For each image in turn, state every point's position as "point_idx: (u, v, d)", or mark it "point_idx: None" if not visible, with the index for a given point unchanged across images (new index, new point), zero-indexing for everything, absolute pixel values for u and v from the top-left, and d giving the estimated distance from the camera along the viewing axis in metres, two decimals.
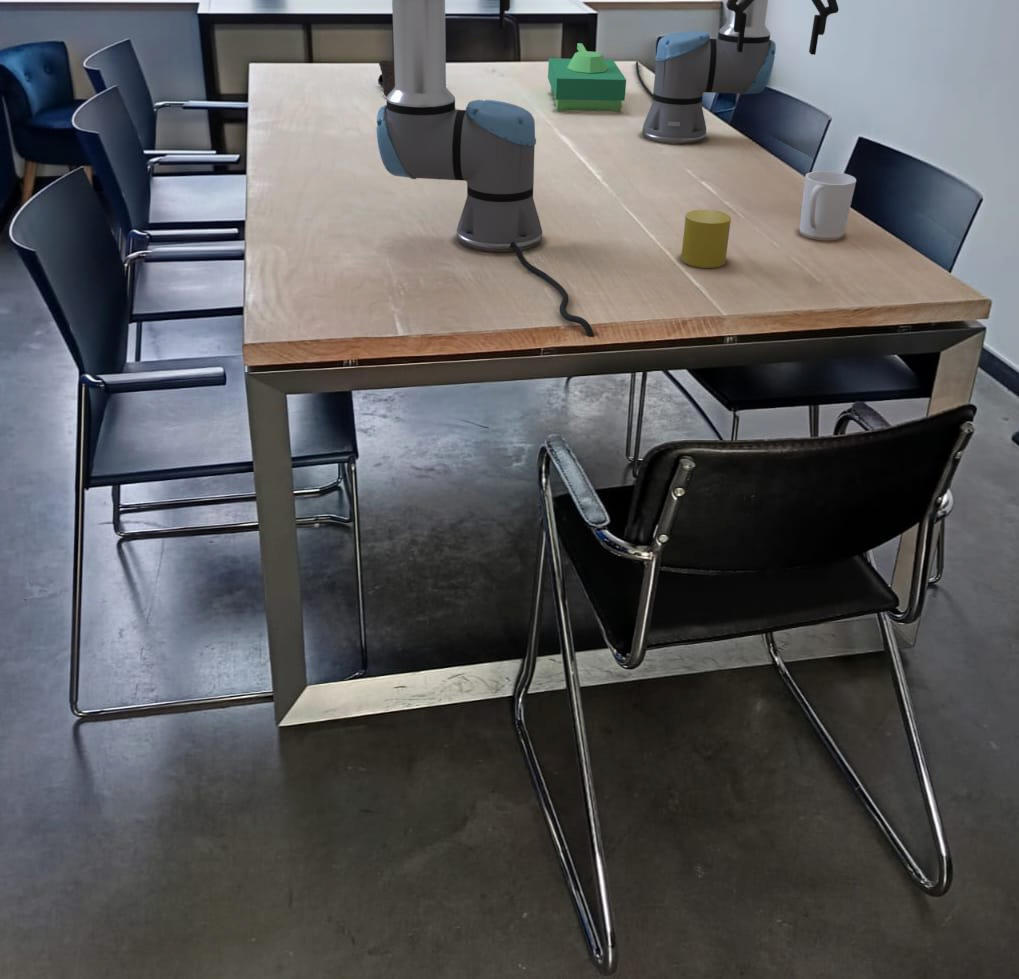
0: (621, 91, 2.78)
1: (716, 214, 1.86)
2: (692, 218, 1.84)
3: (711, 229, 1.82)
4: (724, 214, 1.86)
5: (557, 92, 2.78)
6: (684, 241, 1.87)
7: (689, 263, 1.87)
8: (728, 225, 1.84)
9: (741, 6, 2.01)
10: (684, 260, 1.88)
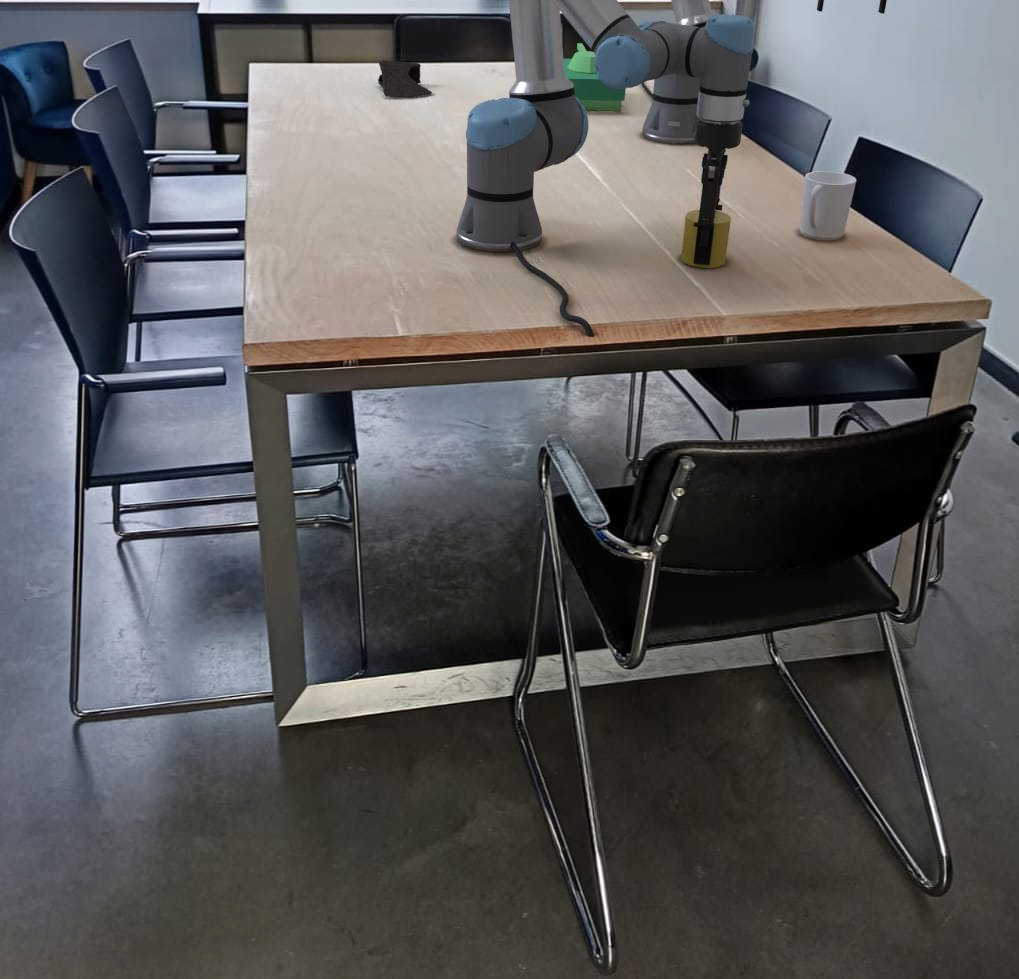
0: (621, 91, 2.78)
1: (716, 214, 1.86)
2: (692, 218, 1.84)
3: None
4: (724, 214, 1.86)
5: None
6: (684, 241, 1.87)
7: (689, 263, 1.87)
8: (728, 225, 1.84)
9: None
10: (684, 260, 1.88)
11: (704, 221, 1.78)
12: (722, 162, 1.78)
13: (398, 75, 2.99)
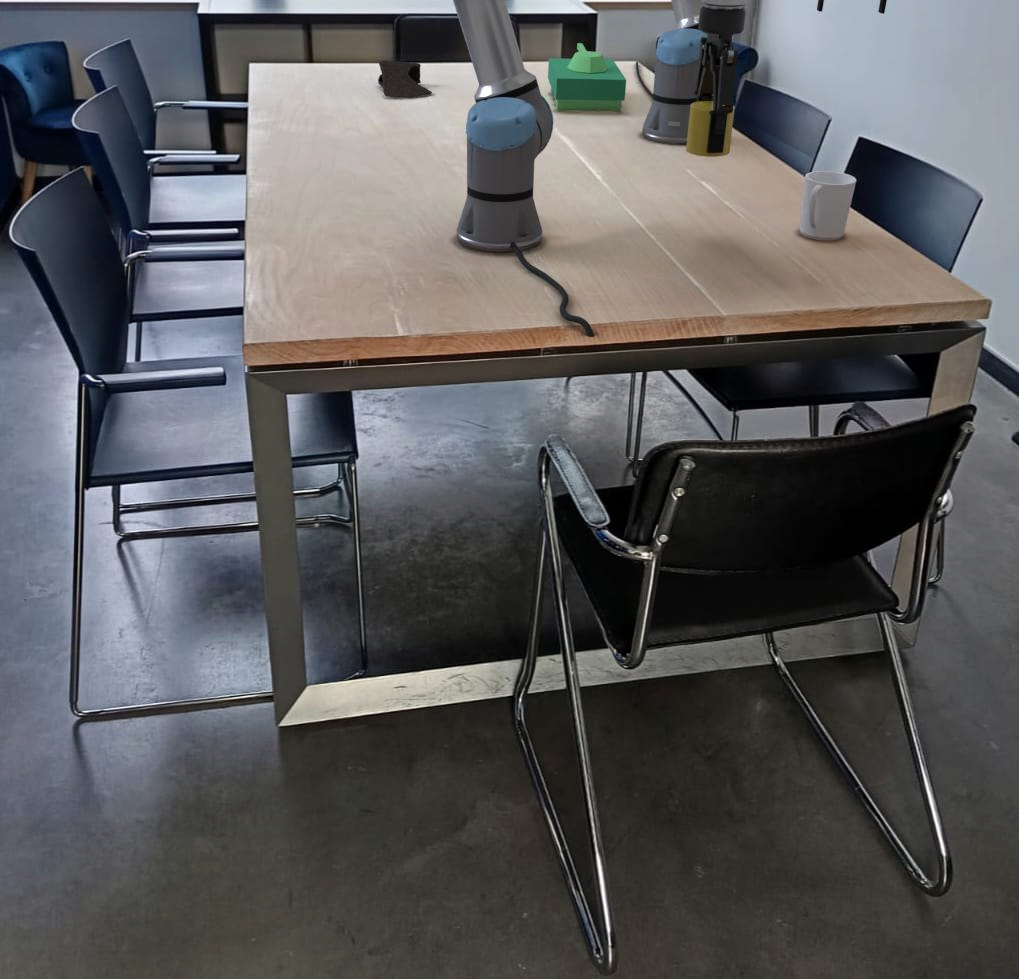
0: (621, 91, 2.78)
1: None
2: (702, 108, 1.87)
3: None
4: None
5: (557, 92, 2.78)
6: (693, 133, 1.90)
7: (701, 154, 1.90)
8: None
9: None
10: (694, 152, 1.91)
11: (724, 107, 1.82)
12: None
13: (398, 75, 2.99)
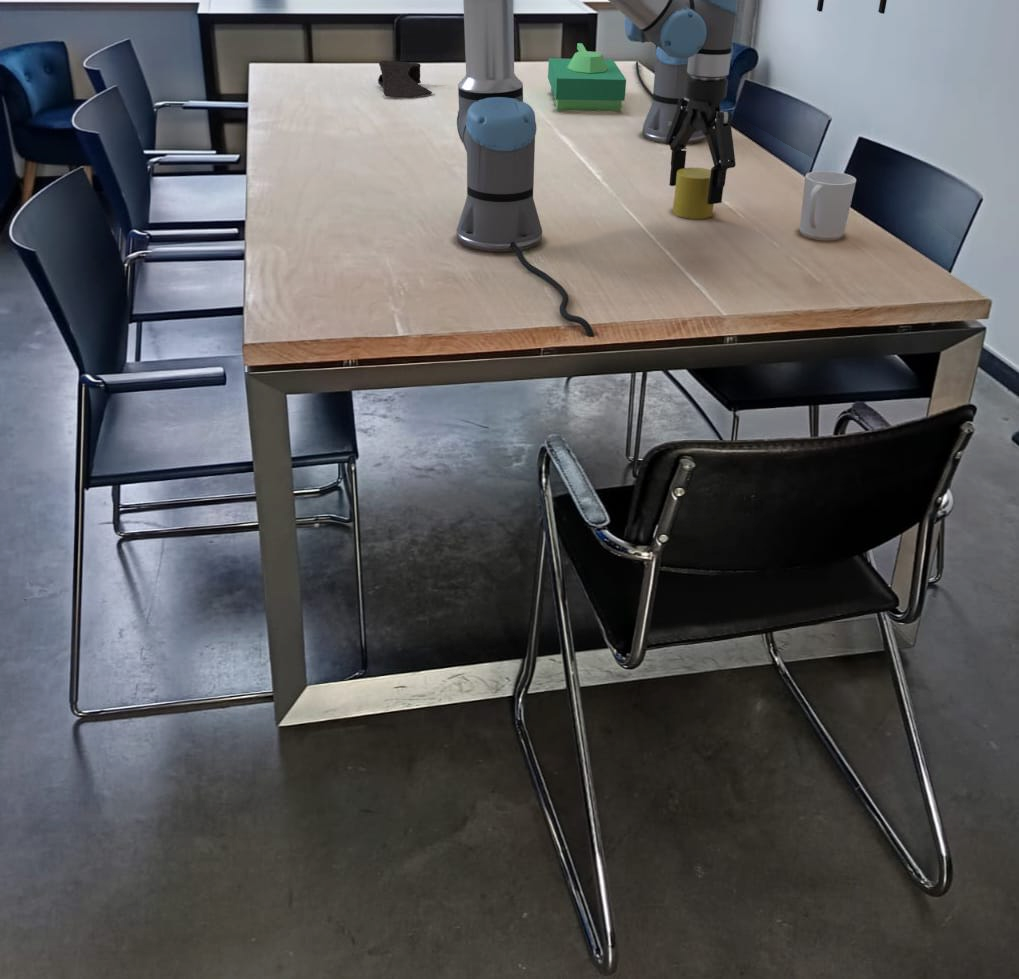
0: (621, 91, 2.78)
1: (697, 170, 2.10)
2: (692, 177, 2.05)
3: None
4: (702, 169, 2.10)
5: (557, 92, 2.78)
6: (684, 199, 2.08)
7: (693, 217, 2.09)
8: None
9: None
10: (686, 215, 2.09)
11: (728, 163, 1.98)
12: None
13: (398, 75, 2.99)
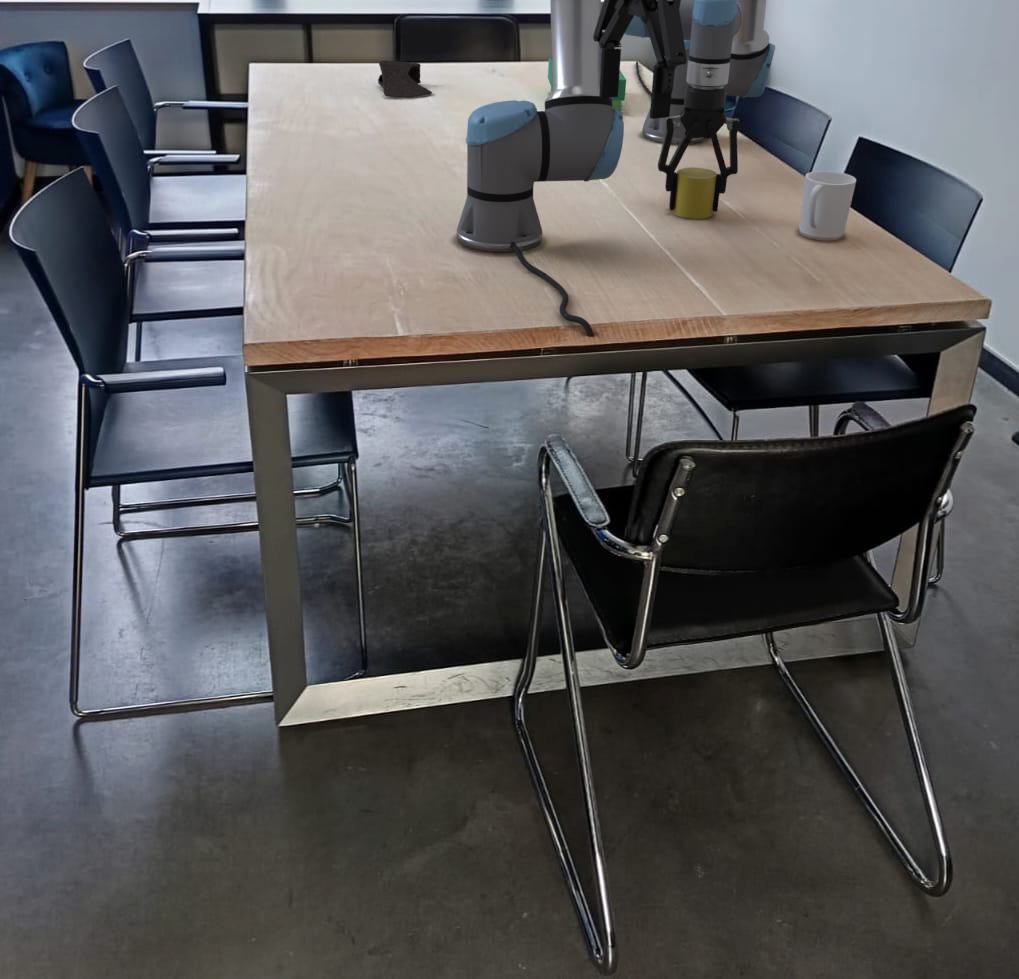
0: (621, 91, 2.78)
1: (697, 170, 2.10)
2: (692, 177, 2.05)
3: (711, 182, 2.06)
4: (702, 168, 2.10)
5: None
6: (684, 199, 2.08)
7: (693, 217, 2.09)
8: None
9: (670, 168, 2.07)
10: (686, 215, 2.09)
11: (677, 57, 1.42)
12: None
13: (398, 75, 2.99)
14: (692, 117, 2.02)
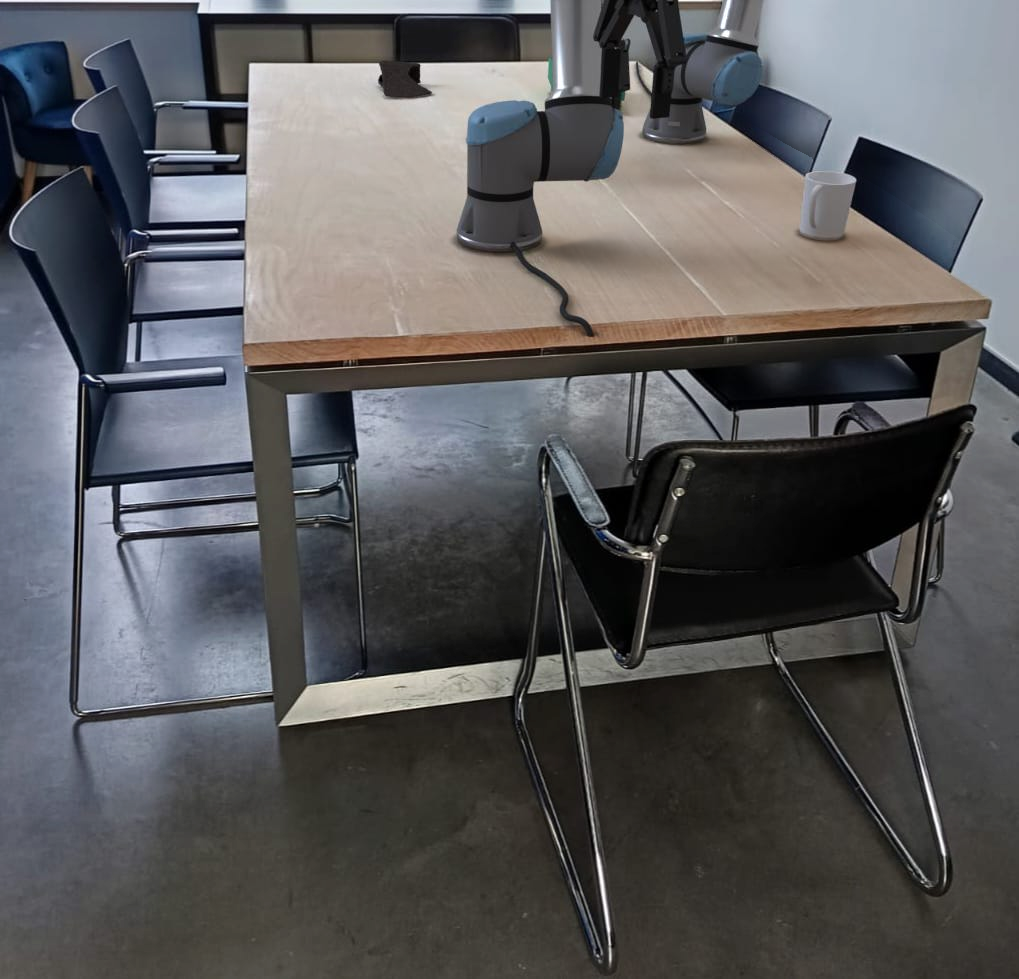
0: None
1: None
2: None
3: None
4: None
5: None
6: None
7: None
8: None
9: None
10: None
11: (677, 57, 1.42)
12: None
13: (398, 75, 2.99)
14: None
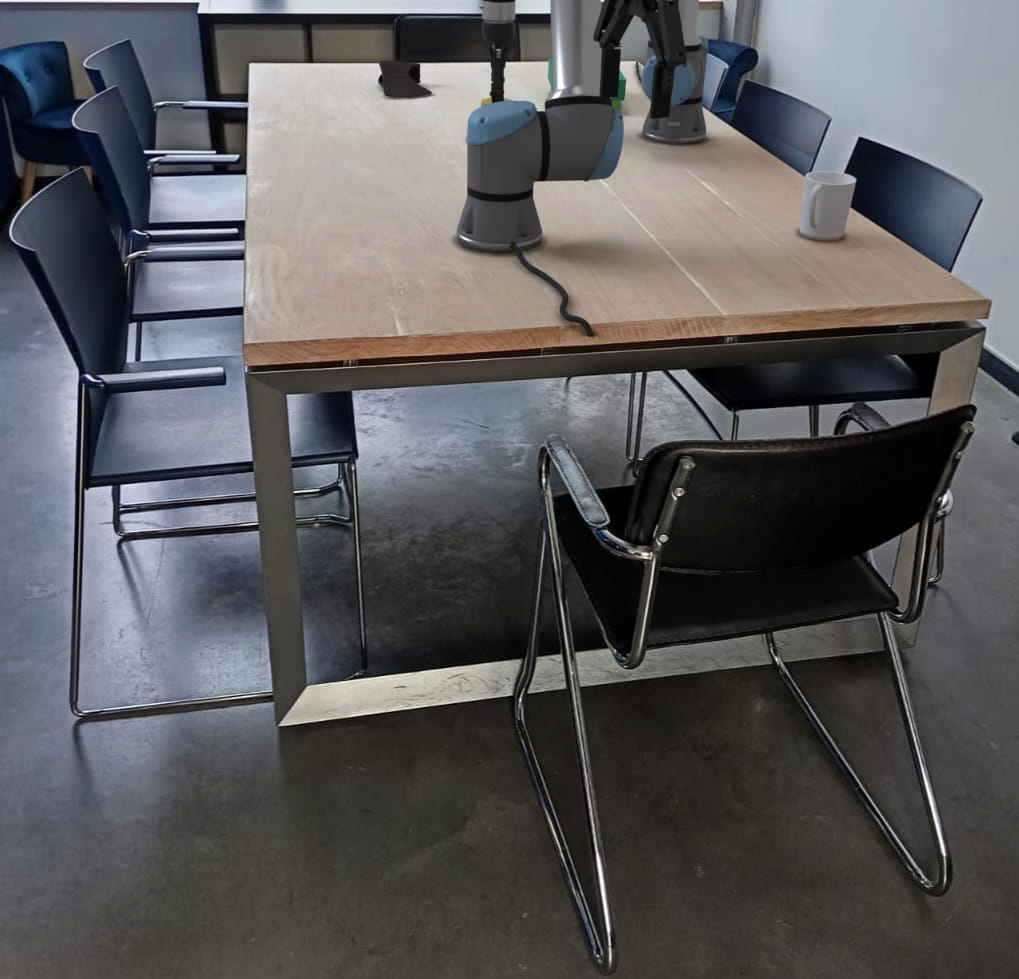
0: (621, 91, 2.78)
1: None
2: (484, 99, 2.58)
3: None
4: None
5: None
6: None
7: None
8: None
9: None
10: None
11: (677, 57, 1.42)
12: None
13: (398, 75, 2.99)
14: None
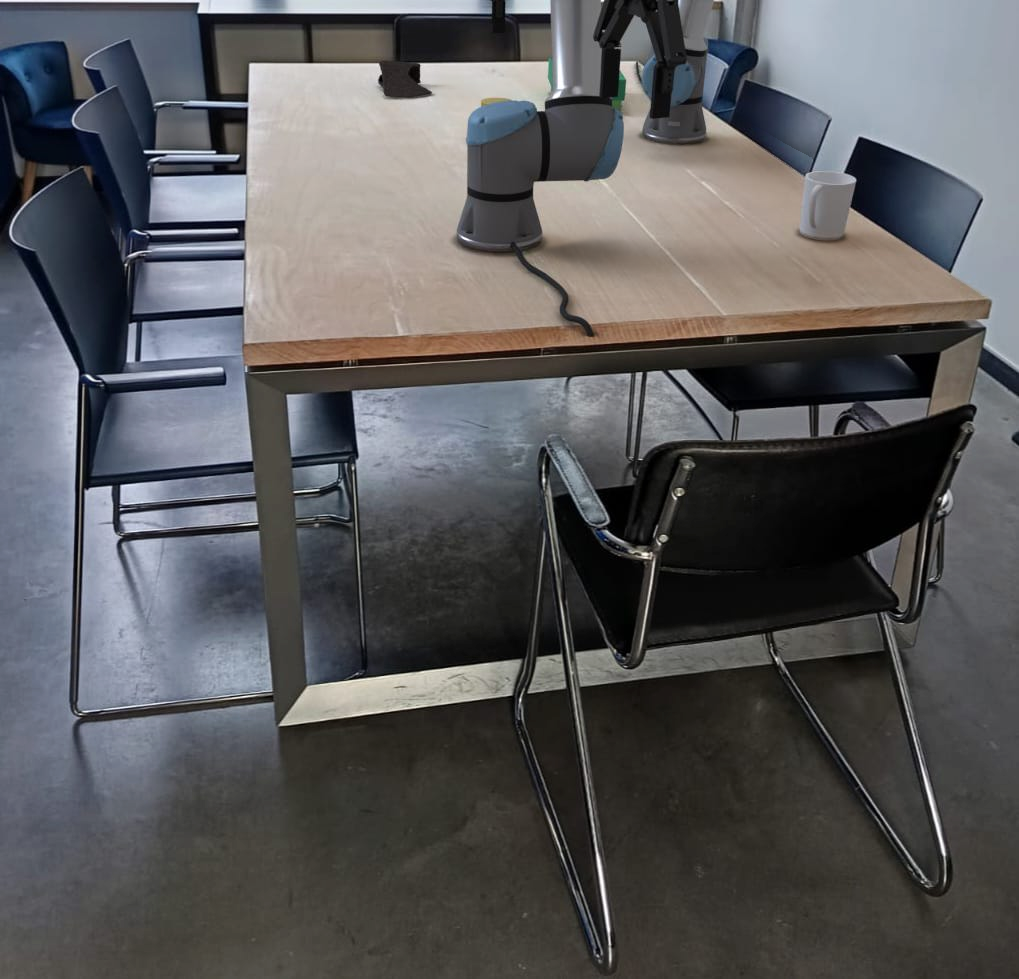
0: (621, 91, 2.78)
1: None
2: (484, 99, 2.58)
3: None
4: None
5: None
6: None
7: None
8: None
9: None
10: None
11: (677, 57, 1.42)
12: None
13: (398, 75, 2.99)
14: None
